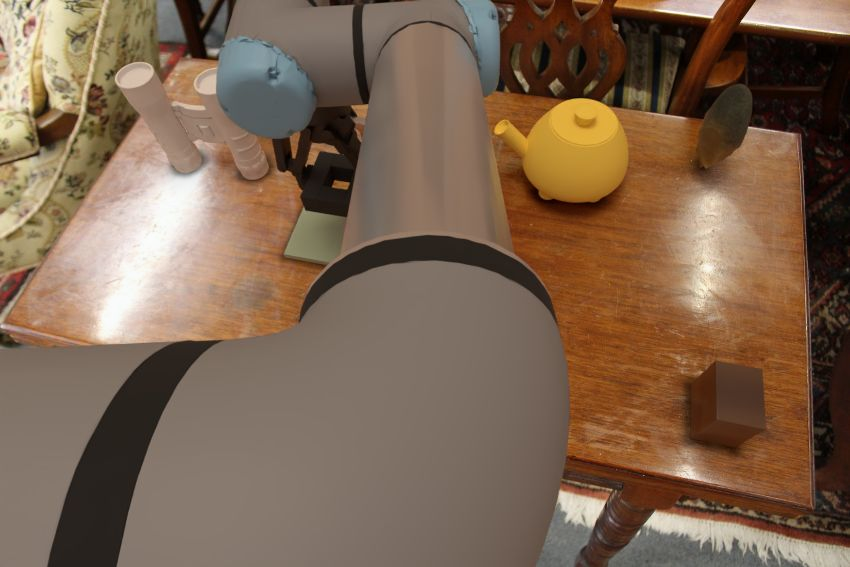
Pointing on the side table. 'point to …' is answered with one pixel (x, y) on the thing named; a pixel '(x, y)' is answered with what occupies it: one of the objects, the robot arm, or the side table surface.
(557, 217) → the side table surface
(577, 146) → the teapot
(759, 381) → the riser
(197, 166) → the binoculars
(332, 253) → the base mat
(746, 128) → the decorative stone
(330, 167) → the dark square frame
